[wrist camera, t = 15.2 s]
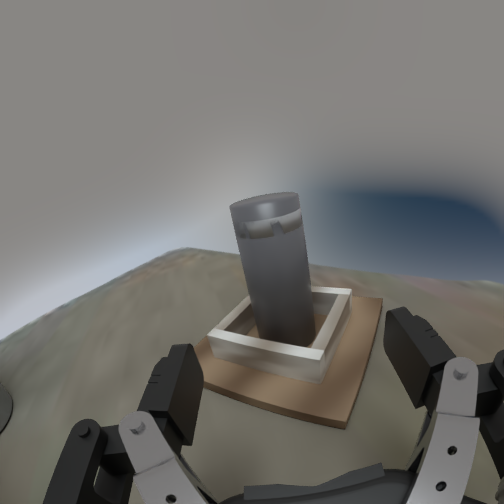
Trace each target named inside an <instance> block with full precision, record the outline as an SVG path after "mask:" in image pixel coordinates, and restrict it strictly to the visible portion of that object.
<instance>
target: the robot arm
mask: <svg viewBox="0 0 504 504" xmlns="http://www.w3.org/2000/svg"><path fill="white" fill-rule="evenodd" d="M383 342H384V349H385V352H386V354H387V356H388V358H389V360H390V361H391V363H392V365H393V367H394V369H395V371H396V372H397V374H398V376H399V378H400V380H401V382H402V384H403V385H404V387H405V389H406V391H407V393H408V395H409V397H410V399H411V401H412V403H413V405H414V407H415V409H417V408H419V407H422V406H424V405H425V406H426V408H427V411H426V414H425V417H424V421H423V424H422V427H421V430H420V434H419V437H418V439H417V442H416V445H415V448H414V451H413V453H412V455H411V457H410V459H409V461H408V463H407V465H406V467H405V470H400V469H383V467H382V463H378V464H375V465H372V466H369V467H365V468H362V469H358V470H354V471H350V472H348V473H346V474H344V475H341V476H339V477H337V478H335V479H332V480H330V481H328V482H325V483H323V484H321V485H318V486H312V487H311V486H294V485H283V484H273V485H260V486H244V493H243V494H239V495H236V496H233V497H230V498H228V499H226V500H224V501H222V502H220V503H219V502H218V501H217V500H216V498H215V497H214V496H213V495H212V494H211V493H210V492H209V491H208V490H207V488H206V487H205V486H204V485H203V483H202V482H201V481H200V479H199V478H198V477H197V475H196V474H195V473H194V471H193V470H192V468H191V467H190V466H189V464H188V463H187V461H186V460H185V458H184V457H183V455H182V454H181V453H180V452H181V448H182V445H186V446H192V442H193V437H194V431H195V426H196V421H197V415H198V410H199V405H200V400H201V395H202V390H203V385H204V375H203V371H202V368H201V365H200V363H199V361H198V358H197V356H196V353H195V351H194V348H193V346H192V345H191V344H179V345H172V347H171V349H170V352H169V355H168V357H163V358H162V359H161V360H160V361H159V362H158V363H157V364H156V365H155V367H154V369H153V372H152V374H151V377H150V379H149V381H148V384H147V386H146V389H145V391H144V394H143V396H142V399H141V401H140V404H139V407H138V409H137V411H136V412H132V413H130V414H128V415H126V416H125V417H124V418H123V419H122V420H121V422H120V424H119V425H114V426H107V427H100V425H99V424H98V423H97V422H96V421H94V420H92V419H84V420H81V421H79V422H78V423H76V424H75V425H74V426H73V428H72V430H71V432H70V434H69V436H68V439H67V441H66V443H65V446H64V448H63V450H62V453H61V455H60V458H59V460H58V463H57V465H56V468H55V470H54V473H53V476H52V478H51V481H50V484H49V487H48V490H47V492H46V495H45V498H44V501H43V504H128V502H129V497H130V492H131V487H132V482H133V479H134V482H135V484H136V486H137V488H138V490H139V492H140V494H141V496H142V498H143V500H144V502H145V504H486V503H483V502H481V501H478V500H475V499H472V498H470V497H467V496H465V495H464V491H465V488H466V485H467V482H468V478H469V474H470V471H471V467H472V462H473V458H474V453H475V449H476V443H477V438H478V432H479V430H480V432H481V435H482V437H483V439H484V441H485V443H486V445H487V447H488V450H489V452H490V454H491V457H492V459H493V461H494V464H495V466H496V469H497V471H498V474H499V477H500V479H501V481H500V483H499V486H498V491H497V492H496V495H495V499H496V500H497V501H498V504H504V403H503V401H504V350H502V351H500V352H498V353H497V354H496V356H495V358H494V361H493V362H492V363H486V364H481V365H476V364H475V363H474V362H473V361H472V360H470V359H468V358H464V357H456V356H455V354H454V353H453V352H452V350H451V349H450V348H449V347H448V345H447V344H446V343H445V342H444V341H443V339H442V338H441V337H440V336H438V333H437V332H436V331H435V330H433V327H432V326H431V325H430V324H429V323H428V322H427V320H425V319H423V318H421V317H419V316H418V315H415V316H413V315H412V314H411V313H410V312H409V311H408V309H407V308H406V307H400V308H396V309H393V310H389V311H387V313H386V321H385V331H384V340H383ZM11 411H12V399H11V396H10V395H9V393H8V392H7V391H6V389H5V388H4V387H3V385H2V384H1V382H0V431H1V430H2V429H3V428H4V426H5V425H6V423H7V421H8V419H9V417H10V414H11ZM99 466H100V469H99V472H98V476H97V479H96V482H95V486H93V485H94V480H95V477H96V473H97V470H98V467H99ZM134 473H136V474H134Z"/></svg>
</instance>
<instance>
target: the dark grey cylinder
mask: <svg viewBox="0 0 504 504" xmlns="http://www.w3.org/2000/svg"><path fill="white" fill-rule="evenodd" d="M230 211H231V216H232V220H233V225H234V229H235V234H236V239H237V243H238V247H239V252H240V256H241V261H242V265H243V270H244V274H245V279H246V283H247V287H248V292H249V296H250V300H251V305H252V309H253V313H254V318H255V322H256V326H257V330H258V335H259V339H264V340H269V341H274V342H279V343H284V344H289V345H295V346H300V347H307V346H309V345H310V344H311V343H312V342H313V340H314V338H315V335H316V330H315V319H314V309H313V299H312V290H311V281H310V273H309V265H308V257H307V250H306V242H305V235H304V228H303V222H302V215H301V209H300V203H299V197H298V194H297V193H294V192H282V193H273V194H266V195H261V196H256V197H252V198H248V199H244V200H241V201H238V202H236V203H233V204H232V205H230Z"/></svg>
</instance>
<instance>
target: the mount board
mask: <svg viewBox="0 0 504 504" xmlns="http://www.w3.org/2000/svg"><path fill="white" fill-rule="evenodd" d="M311 290H312V299H313V309H314V319H315V330H316V335H315V338H314V340H313V342H312V343H311V344H310V345H309V346H307V347H300V346H295V345H289V344H284V343H279V342H274V341H269V340H264V339H259V335H258V330H257V326H256V322H255V318H254V313H253V309H252V305H251V300H250V296H249V295H248V296H247V297H246V298H245V299H244V300H243V301H242V302H241V303H240V304H239V305H238V306H237V307H236V308H235V309H234V310H233V311H231V312H230V313H229V314H228V315H227V316H226V317H225V318H224V319H223V320H222V321H221V322H220V323H219V324H218V325H217V326H216V327H215V328H214V329H212V330H211V331H210V332H209V333H208V334H207V336H206V337H205V338H203V339H202V340H201V341H200V342H199V343H198V344H197V345H196V346H195V347H194V351H195V353H196V356H197V358H198V361H199V363H200V365H201V368H202V371H203V375H204V385H203V387H205V388H207V389H209V390H212V391H214V392H217V393H220V394H222V395H225V396H227V397H230V398H233V399H236V400H238V401H241V402H244V403H247V404H250V405H253V406H256V407H259V408H262V409H265V410H268V411H272V412H275V413H278V414H282V415H285V416H289V417H293V418H296V419H300V420H304V421H308V422H312V423H317V424H321V425H325V426H330V427H335V428H340V429H345V428H346V425H347V423H348V420H349V418H350V415H351V413H352V410H353V407H354V404H355V402H356V399H357V396H358V393H359V390H360V387H361V384H362V381H363V378H364V375H365V371H366V368H367V365H368V361H369V358H370V354H371V351H372V347H373V343H374V339H375V335H376V331H377V327H378V323H379V319H380V314H381V309H382V300H383V299H382V298H367V297H353V296H352V289H343V288H330V287H317V286H311Z"/></svg>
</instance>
